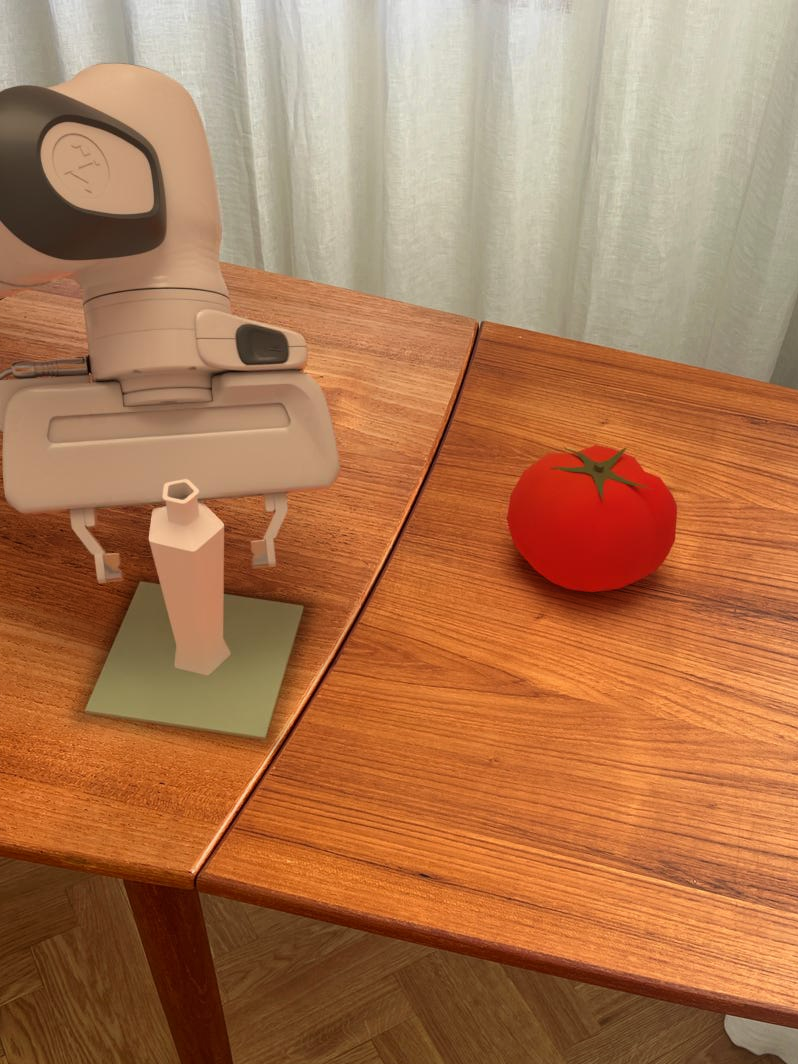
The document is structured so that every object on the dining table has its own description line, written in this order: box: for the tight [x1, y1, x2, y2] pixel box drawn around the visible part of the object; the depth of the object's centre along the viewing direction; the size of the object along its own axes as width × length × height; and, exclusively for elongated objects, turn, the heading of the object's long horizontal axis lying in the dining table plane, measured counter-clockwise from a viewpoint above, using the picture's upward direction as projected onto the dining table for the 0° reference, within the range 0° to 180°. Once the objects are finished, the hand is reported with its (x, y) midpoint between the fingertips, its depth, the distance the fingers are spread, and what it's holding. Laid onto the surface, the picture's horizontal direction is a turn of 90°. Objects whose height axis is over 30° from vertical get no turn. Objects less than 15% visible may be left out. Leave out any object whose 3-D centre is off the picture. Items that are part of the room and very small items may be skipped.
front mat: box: [84, 581, 305, 741], centre depth 80 cm, size 12×12×1 cm
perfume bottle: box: [148, 479, 230, 675], centre depth 74 cm, size 5×4×15 cm
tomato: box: [506, 444, 678, 593], centre depth 86 cm, size 11×13×10 cm
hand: (188, 575), depth 73 cm, fingers open, 8 cm apart
